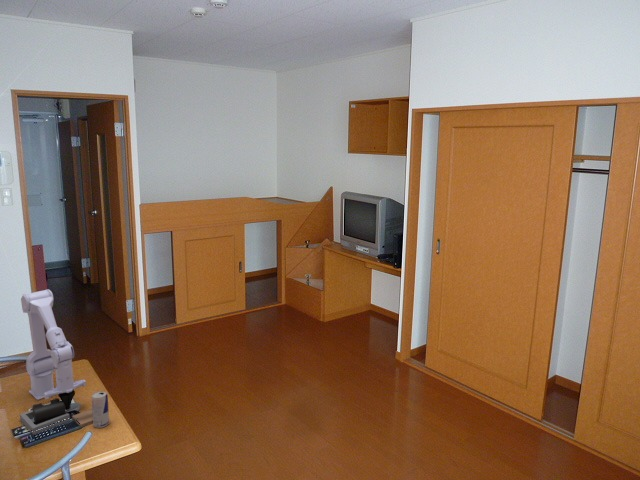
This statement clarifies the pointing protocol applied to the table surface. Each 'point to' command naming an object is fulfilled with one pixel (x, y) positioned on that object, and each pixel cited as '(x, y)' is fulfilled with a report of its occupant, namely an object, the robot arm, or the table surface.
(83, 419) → the walnut stand
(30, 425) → the corral stand
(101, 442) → the table surface
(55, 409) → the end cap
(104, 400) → the energy drink
